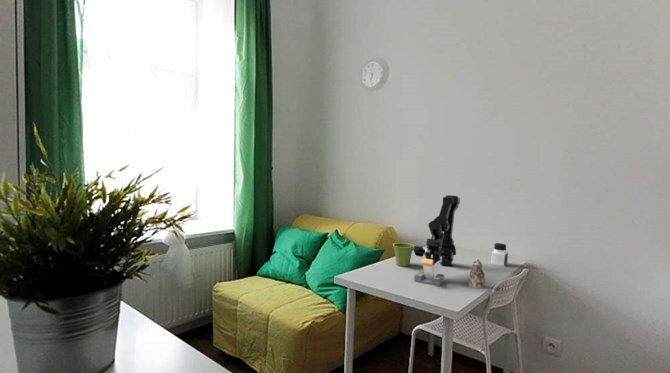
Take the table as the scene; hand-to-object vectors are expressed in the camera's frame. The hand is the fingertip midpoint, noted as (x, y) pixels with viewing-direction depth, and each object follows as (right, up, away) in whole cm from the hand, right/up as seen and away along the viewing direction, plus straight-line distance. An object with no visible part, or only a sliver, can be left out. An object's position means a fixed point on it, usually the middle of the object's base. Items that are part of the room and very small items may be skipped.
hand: (429, 268), depth 179 cm
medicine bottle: (+48, -5, +33) cm, 59 cm away
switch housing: (0, -7, +1) cm, 7 cm away
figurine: (+21, -8, -4) cm, 23 cm away
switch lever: (+1, -4, +2) cm, 5 cm away
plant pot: (-8, -5, +28) cm, 30 cm away
